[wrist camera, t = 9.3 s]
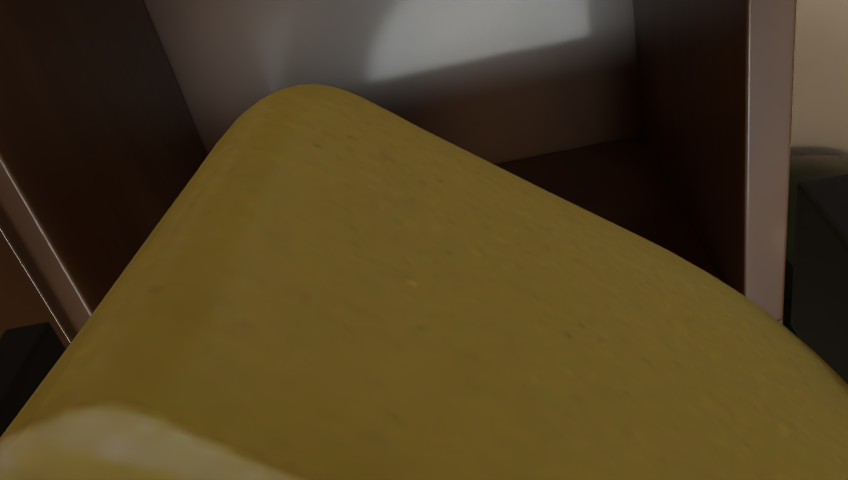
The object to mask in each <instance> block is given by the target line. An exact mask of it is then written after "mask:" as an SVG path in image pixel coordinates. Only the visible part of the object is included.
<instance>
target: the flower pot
mask: <svg viewBox="0 0 848 480" xmlns="http://www.w3.org/2000/svg"><path fill="white" fill-rule="evenodd" d="M0 480H848V384H847V383H846V382H845V381H844V380H843V379H842V378H841V377H840V376H839V375H838V374H837V373H836V372H835V371H834V370H833V369H832V368H831V367H830V366H829V365H828V364H827V363H826V362H825V361H824V360H823V359H822V358H821V357H820V356H819V355H818V354H817V353H816V352H814V351H813V350H812V349H811V348H810V347H808V346H807V345H806V344H805V343H804V342H803V341H801V340H800V339H799V338H798V337H797V336H796V335H794V334H793V333H792V332H791V331H790V330H789V329H787V328H786V327H785V326H784V325H782V324H781V323H780V322H778V321H777V320H776V319H774V318H773V317H772V316H771V315H769V314H768V313H767V312H765V311H764V310H763V309H761V308H760V307H759V306H757V305H756V304H755V303H753V302H752V301H751V300H749V299H748V298H746V297H745V296H744V295H742V294H741V293H739V292H738V291H736V290H735V289H733V288H732V287H730V286H728V285H727V284H725V283H724V282H722V281H720V280H719V279H717V278H716V277H714V276H712V275H711V274H709V273H707V272H706V271H704V270H702V269H700V268H699V267H697V266H695V265H693V264H691V263H690V262H688V261H686V260H684V259H683V258H681V257H679V256H677V255H676V254H674V253H672V252H670V251H669V250H667V249H665V248H663V247H661V246H659V245H657V244H655V243H653V242H651V241H649V240H647V239H645V238H643V237H641V236H639V235H637V234H634V233H632V232H630V231H628V230H626V229H624V228H622V227H620V226H618V225H616V224H614V223H612V222H610V221H608V220H605V219H603V218H601V217H599V216H597V215H595V214H593V213H591V212H589V211H587V210H585V209H583V208H581V207H579V206H577V205H575V204H572V203H570V202H568V201H566V200H564V199H562V198H560V197H558V196H556V195H554V194H552V193H550V192H548V191H546V190H544V189H542V188H540V187H538V186H536V185H534V184H532V183H530V182H528V181H526V180H524V179H522V178H520V177H518V176H516V175H514V174H512V173H510V172H508V171H506V170H504V169H502V168H500V167H498V166H496V165H494V164H492V163H490V162H488V161H486V160H484V159H482V158H480V157H478V156H476V155H474V154H472V153H470V152H468V151H466V150H464V149H462V148H460V147H458V146H456V145H454V144H452V143H450V142H448V141H446V140H444V139H442V138H440V137H438V136H436V135H434V134H432V133H430V132H428V131H426V130H424V129H422V128H420V127H418V126H416V125H414V124H412V123H410V122H408V121H407V120H405V119H403V118H401V117H399V116H397V115H396V114H394V113H392V112H390V111H388V110H386V109H384V108H382V107H380V106H378V105H376V104H374V103H372V102H370V101H368V100H366V99H365V98H363V97H360V96H358V95H355V94H353V93H351V92H348V91H346V90H343V89H339V88H336V87H332V86H326V85H319V84H305V85H296V86H292V87H288V88H284V89H280V90H278V91H276V92H274V93H272V94H270V95H268V96H266V97H264V98H262V99H260V100H259V101H258V102H257V103H255V104H254V105H253V106H252V107H250V108H249V109H248V110H247V111H245V112H244V113H243V114H242V115H241V116H240V117H239V118H238V119H237V120H236V121H235V122H234V123H233V124H232V126H231V127H230V128H229V129H228V130H227V132H226V133H225V134H224V135H223V136H222V138H221V139H220V140H219V141H218V142H217V143H216V145H215V146H214V148H213V149H212V150H211V152H210V153H209V155H208V156H207V157H206V159H205V160H204V162H203V163H202V164H201V166H200V167H199V169H198V170H197V171H196V173H195V174H194V176H193V177H192V178H191V180H190V181H189V182H188V184H187V185H186V187H185V188H184V189H183V191H182V192H181V193H180V195H179V196H178V197H177V199H176V200H175V201H174V203H173V204H172V205H171V207H170V208H169V209H168V211H167V212H166V214H165V215H164V216H163V218H162V219H161V220H160V222H159V223H158V224H157V226H156V227H155V229H154V230H153V231H152V233H151V234H150V235H149V237H148V238H147V240H146V241H145V242H144V244H143V245H142V246H141V248H140V249H139V251H138V252H137V253H136V255H135V256H134V257H133V259H132V260H131V262H130V263H129V264H128V266H127V267H126V268H125V270H124V271H123V272H122V274H121V275H120V277H119V278H118V279H117V281H116V282H115V283H114V285H113V286H112V288H111V289H110V290H109V292H108V293H107V294H106V296H105V297H104V299H103V300H102V301H101V303H100V304H99V305H98V307H97V308H96V309H95V311H94V312H93V314H92V315H91V316H90V318H89V319H88V320H87V322H86V323H85V325H84V326H83V327H82V329H81V330H80V331H79V333H78V334H77V335H76V337H75V338H74V340H73V341H72V342H71V344H70V345H69V346H68V348H67V349H66V350H65V352H64V353H63V354H62V356H61V357H60V358H59V360H58V361H57V362H56V364H55V365H54V366H53V368H52V369H51V370H50V372H49V373H48V374H47V376H46V377H45V378H44V380H43V381H42V382H41V384H40V385H39V386H38V388H37V389H36V390H35V392H34V393H33V394H32V396H31V397H30V399H29V400H28V401H27V403H26V404H25V405H24V407H23V408H22V409H21V411H20V412H19V413H18V415H17V416H16V417H15V419H14V420H13V421H12V423H11V424H10V425H9V427H8V428H7V429H6V431H5V432H4V433H3V435H2V436H1V437H0Z"/></svg>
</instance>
